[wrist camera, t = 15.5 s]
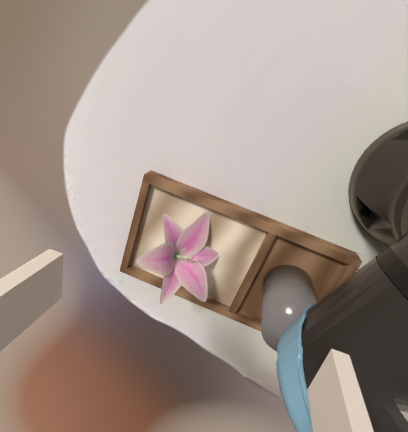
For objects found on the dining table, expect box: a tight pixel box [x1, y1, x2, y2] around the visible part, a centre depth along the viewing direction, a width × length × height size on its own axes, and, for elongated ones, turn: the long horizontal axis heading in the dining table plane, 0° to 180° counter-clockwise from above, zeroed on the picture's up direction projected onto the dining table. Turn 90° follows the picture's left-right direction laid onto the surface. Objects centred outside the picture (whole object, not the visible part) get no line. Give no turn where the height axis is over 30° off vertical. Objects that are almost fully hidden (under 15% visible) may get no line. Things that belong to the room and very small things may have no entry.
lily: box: [136, 212, 219, 304], centre depth 37 cm, size 12×12×10 cm
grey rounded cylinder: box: [261, 265, 318, 351], centre depth 35 cm, size 7×7×9 cm
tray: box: [120, 171, 362, 331], centre depth 40 cm, size 30×16×2 cm, turn 71°
